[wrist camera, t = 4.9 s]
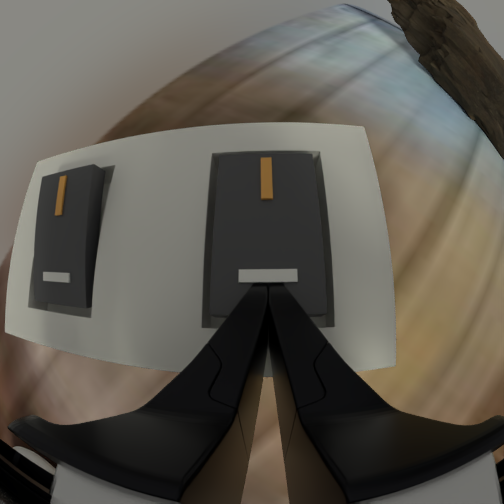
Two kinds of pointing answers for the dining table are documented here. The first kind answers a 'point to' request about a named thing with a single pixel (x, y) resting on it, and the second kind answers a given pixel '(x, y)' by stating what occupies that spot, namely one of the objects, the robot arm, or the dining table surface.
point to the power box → (205, 247)
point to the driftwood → (457, 59)
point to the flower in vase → (35, 459)
